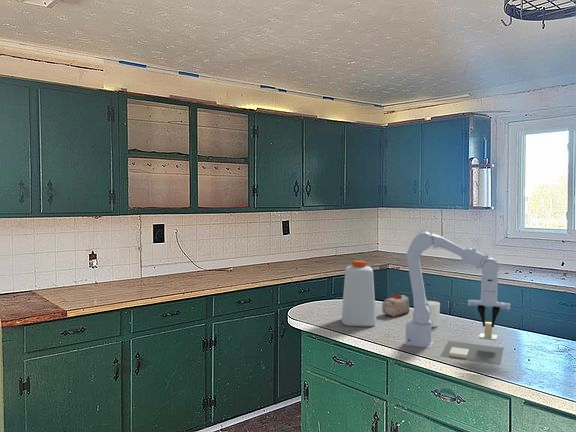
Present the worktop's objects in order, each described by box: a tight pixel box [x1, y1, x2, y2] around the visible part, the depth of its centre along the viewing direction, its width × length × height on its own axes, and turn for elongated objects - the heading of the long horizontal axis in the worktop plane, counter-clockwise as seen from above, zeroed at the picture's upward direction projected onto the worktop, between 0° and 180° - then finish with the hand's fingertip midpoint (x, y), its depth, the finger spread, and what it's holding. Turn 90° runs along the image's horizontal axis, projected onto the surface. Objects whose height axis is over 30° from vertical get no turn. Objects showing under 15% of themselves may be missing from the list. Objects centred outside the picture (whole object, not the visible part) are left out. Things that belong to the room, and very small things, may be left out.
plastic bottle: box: [341, 259, 377, 328], centre depth 229 cm, size 15×15×28 cm
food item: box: [381, 293, 410, 318], centre depth 244 cm, size 14×8×10 cm, turn 133°
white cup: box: [427, 300, 441, 328], centre depth 226 cm, size 8×8×10 cm
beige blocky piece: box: [478, 321, 498, 342], centre depth 190 cm, size 6×6×6 cm
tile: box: [449, 347, 469, 359], centre depth 185 cm, size 6×1×7 cm
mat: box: [440, 340, 504, 366], centre depth 188 cm, size 20×20×1 cm
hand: (488, 326), depth 190 cm, fingers closed on beige blocky piece, 2 cm apart
